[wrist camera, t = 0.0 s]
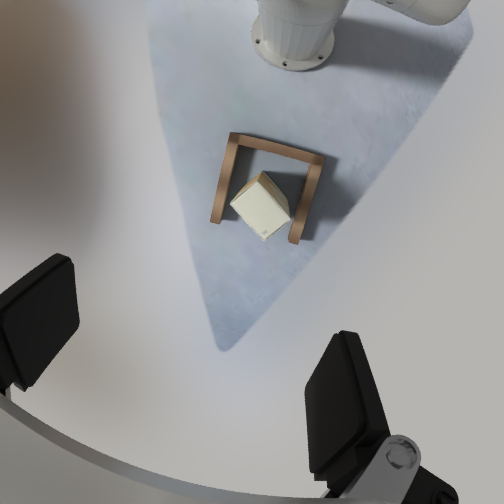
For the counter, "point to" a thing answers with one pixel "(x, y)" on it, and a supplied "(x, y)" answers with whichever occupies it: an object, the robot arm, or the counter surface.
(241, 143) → the open wooden u frame
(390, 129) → the counter surface
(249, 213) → the skincare box
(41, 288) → the robot arm
